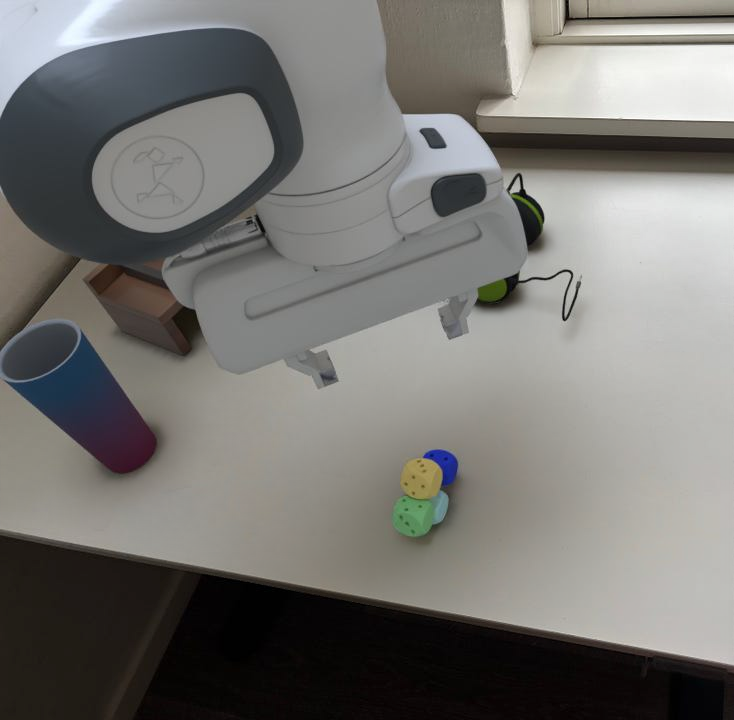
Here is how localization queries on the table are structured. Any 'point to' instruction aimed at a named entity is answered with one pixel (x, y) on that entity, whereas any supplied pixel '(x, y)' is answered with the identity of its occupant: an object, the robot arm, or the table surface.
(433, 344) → the table surface
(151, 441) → the cup
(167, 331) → the laptop stand
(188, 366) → the table surface
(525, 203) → the headphones
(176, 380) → the table surface
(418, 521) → the dice
